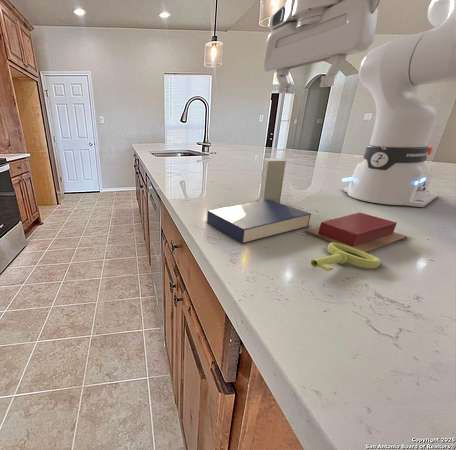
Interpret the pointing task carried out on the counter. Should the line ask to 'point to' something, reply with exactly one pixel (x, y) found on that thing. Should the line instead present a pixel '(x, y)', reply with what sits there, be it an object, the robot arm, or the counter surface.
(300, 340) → the counter surface
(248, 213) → the hardback
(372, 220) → the red rectangular block
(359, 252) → the key
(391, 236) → the cork mat
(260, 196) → the cosmetic box
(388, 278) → the counter surface
